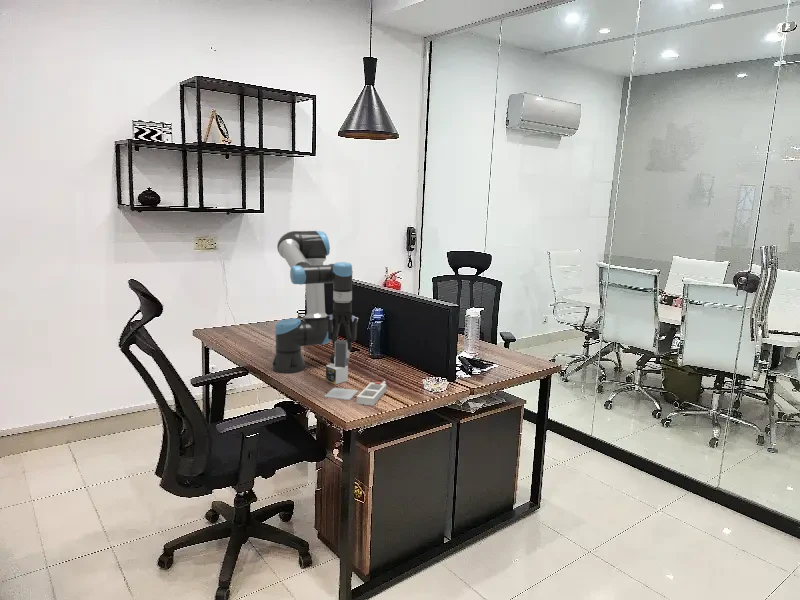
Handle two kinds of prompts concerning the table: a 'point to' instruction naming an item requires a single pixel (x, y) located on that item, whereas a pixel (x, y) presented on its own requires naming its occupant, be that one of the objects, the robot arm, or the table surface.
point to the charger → (341, 354)
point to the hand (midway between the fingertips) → (342, 356)
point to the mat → (341, 393)
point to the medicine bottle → (336, 372)
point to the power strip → (372, 393)
